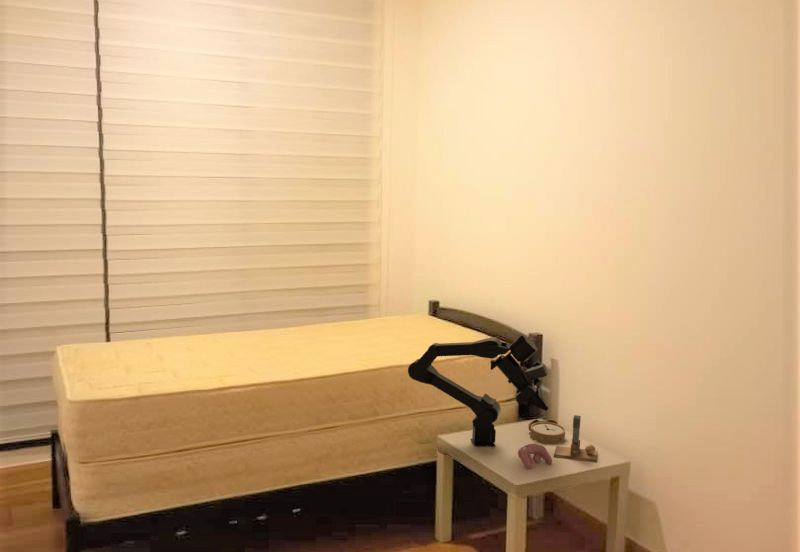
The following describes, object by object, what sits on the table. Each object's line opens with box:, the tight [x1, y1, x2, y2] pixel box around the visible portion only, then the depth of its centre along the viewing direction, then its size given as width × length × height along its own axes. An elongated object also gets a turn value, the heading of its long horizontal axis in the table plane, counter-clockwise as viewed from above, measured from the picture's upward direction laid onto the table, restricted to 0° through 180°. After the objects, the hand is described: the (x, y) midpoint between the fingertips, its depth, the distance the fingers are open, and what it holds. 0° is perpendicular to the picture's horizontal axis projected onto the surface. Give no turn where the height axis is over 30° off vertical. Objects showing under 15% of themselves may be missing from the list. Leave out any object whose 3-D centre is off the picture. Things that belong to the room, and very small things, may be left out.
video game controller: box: [517, 443, 553, 470], centre depth 220 cm, size 10×5×7 cm, turn 123°
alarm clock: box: [528, 419, 566, 444], centre depth 246 cm, size 11×5×15 cm
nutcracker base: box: [553, 438, 598, 463], centre depth 229 cm, size 12×8×4 cm, turn 73°
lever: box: [571, 414, 582, 445], centre depth 228 cm, size 2×3×10 cm, turn 163°
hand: (547, 409), depth 230 cm, fingers closed
